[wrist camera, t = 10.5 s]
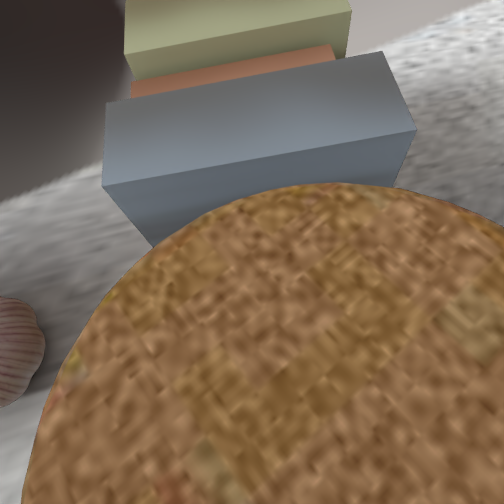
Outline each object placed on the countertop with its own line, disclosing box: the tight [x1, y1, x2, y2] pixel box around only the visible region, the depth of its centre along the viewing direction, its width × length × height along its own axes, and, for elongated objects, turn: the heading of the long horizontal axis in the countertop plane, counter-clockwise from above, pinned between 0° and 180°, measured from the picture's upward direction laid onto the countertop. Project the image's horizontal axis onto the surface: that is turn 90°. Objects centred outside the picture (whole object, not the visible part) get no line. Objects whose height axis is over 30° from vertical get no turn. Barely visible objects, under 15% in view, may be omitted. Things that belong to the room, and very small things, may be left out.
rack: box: [102, 0, 417, 248], centre depth 14 cm, size 22×10×13 cm, turn 8°
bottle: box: [21, 182, 504, 504], centre depth 9 cm, size 6×6×15 cm
